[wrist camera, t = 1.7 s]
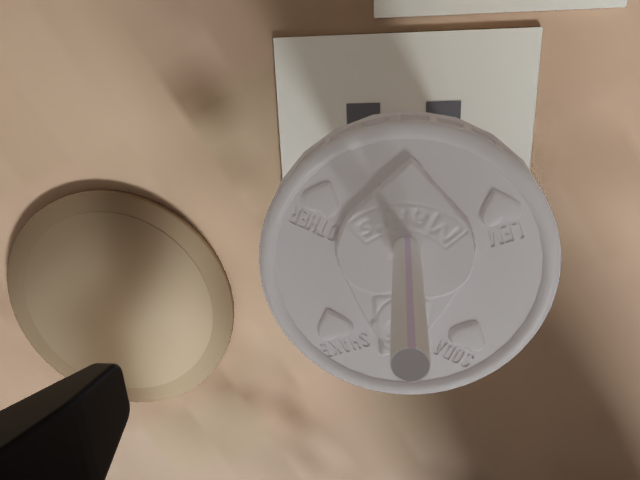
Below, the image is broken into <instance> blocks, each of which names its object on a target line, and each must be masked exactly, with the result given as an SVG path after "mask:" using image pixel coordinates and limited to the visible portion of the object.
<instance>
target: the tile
mask: <svg viewBox="0 0 640 480" xmlns="http://www.w3.org/2000/svg"><path fill="white" fill-rule="evenodd" d="M626 5H627V0H374V18H388V17H411V16H434V15H456V14H479V13H502V12H525V11H547V10H570V9H593V8H615V7H626Z"/></svg>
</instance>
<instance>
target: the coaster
mask: <svg viewBox="0 0 640 480" xmlns="http://www.w3.org/2000/svg"><path fill="white" fill-rule="evenodd" d="M7 283H8V292H9V297H10V302H11V305H12V308H13V312H14V315H15V317H16V319H17V321H18V323H19V326H20V328H21V329H22V331H23V333H24V334H25V336H26V338H27V339H28V341H29V342H30V343H31V345H32V346H33V347H34V349H35V350H36V351H37V352H38V354H39V355H40V356H41V357H42V358H43V359H44V360H45V361H46V362H47V363H48V364H49V365H50V366H52V367H53V368H54V369H55V370H56V371H57V372H59V373H60V374H61V375H63V376H64V377H68V376H70V375H72V374H74V373H76V372H78V371H80V370H82V369H84V368H86V367H88V366H89V365H91V364H94V363H115V364H118V365H119V366H120V367H121V369H122V372H123V376H124V380H125V385H126V389H127V394H128V399H129V401H131V402H153V401H160V400H165V399H169V398H173V397H176V396H178V395H181V394H183V393H186V392H188V391H189V390H191V389H193V388H194V387H196V386H198V385H199V384H200V383H201V382H202V381H204V380H205V379H206V378H207V377H208V376H209V375H210V374H211V373H212V372H213V371H214V369H215V368H216V367H217V365H218V363H219V362H220V360H221V359H222V357H223V355H224V353H225V351H226V349H227V346H228V344H229V342H230V338H231V334H232V330H233V322H234V302H233V297H232V291H231V287H230V284H229V281H228V278H227V275H226V273H225V270H224V268H223V266H222V264H221V262H220V260H219V259H218V257H217V255H216V254H215V252H214V251H213V249H212V248H211V246H210V245H209V244H208V243H207V241H206V240H205V239H204V238H203V236H202V235H201V234H200V233H199V232H198V231H197V230H196V229H195V228H194V227H193V226H192V225H191V224H189V223H188V222H187V221H185V220H184V219H183V218H182V217H180V216H179V215H178V214H176V213H175V212H173V211H171V210H170V209H168V208H166V207H165V206H163V205H161V204H159V203H157V202H155V201H152V200H150V199H148V198H145V197H142V196H139V195H136V194H132V193H127V192H122V191H117V190H89V191H83V192H78V193H73V194H70V195H68V196H65V197H63V198H60V199H58V200H56V201H54V202H52V203H51V204H49V205H47V206H45V207H44V208H42V209H41V210H39V211H38V212H37V213H36V214H35V215H33V216H32V217H31V218H30V219H29V220H28V222H27V223H26V224H25V225H24V226H23V227H22V229H21V231H20V232H19V234H18V235H17V237H16V239H15V242H14V244H13V246H12V249H11V252H10V257H9V261H8V270H7Z"/></svg>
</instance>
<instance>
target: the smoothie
mask: <svg viewBox="0 0 640 480" xmlns="http://www.w3.org/2000/svg"><path fill="white" fill-rule="evenodd" d="M259 267H260V276H261V281H262V287H263V290H264V293H265V297H266V300H267V302H268V305H269V307H270V310H271V312H272V314H273V316H274V318H275V319H276V321H277V323H278V325H279V326H280V328H281V329H282V331H283V332H284V333H285V335H286V336H287V337H288V339H289V340H290V341H291V342H292V343H293V344H294V346H295V347H296V348H297V349H298V350H299V351H300V352H301V353H302V354H304V355H305V356H306V357H307V358H308V359H309V360H310V361H312V362H313V363H315V364H316V365H317V366H319V367H320V368H322V369H323V370H325V371H326V372H328V373H330V374H331V375H333V376H335V377H337V378H339V379H341V380H343V381H346V382H348V383H351V384H353V385H356V386H359V387H362V388H366V389H369V390H374V391H378V392H384V393H391V394H405V395H415V394H429V393H437V392H442V391H447V390H451V389H455V388H458V387H462V386H464V385H467V384H470V383H472V382H475V381H477V380H479V379H481V378H483V377H485V376H487V375H489V374H491V373H492V372H494V371H496V370H497V369H499V368H500V367H502V366H503V365H505V364H506V363H507V362H509V361H510V360H511V359H512V358H513V357H515V356H516V355H517V354H518V353H519V352H520V351H521V350H522V349H523V348H524V347H525V346H526V345H527V344H528V343H529V342H530V340H531V339H532V338H533V337H534V335H535V334H536V333H537V331H538V330H539V328H540V327H541V325H542V323H543V322H544V320H545V319H546V317H547V314H548V312H549V310H550V308H551V306H552V303H553V300H554V298H555V295H556V291H557V287H558V283H559V278H560V270H561V245H560V237H559V232H558V228H557V223H556V220H555V217H554V214H553V212H552V209H551V207H550V205H549V203H548V201H547V198H546V196H545V194H544V192H543V190H542V189H541V187H540V186H539V184H538V183H537V181H536V179H535V178H534V176H533V175H532V173H531V172H530V170H529V169H528V167H527V165H526V164H525V162H524V161H523V160H522V159H521V158H520V157H519V156H518V155H516V154H515V153H514V152H513V151H512V150H511V149H509V148H508V147H507V146H506V145H505V144H504V143H503V142H501V141H500V140H499V139H498V138H497V137H496V136H494V135H493V134H491V133H489V132H487V131H485V130H483V129H480V128H478V127H476V126H474V125H472V124H470V123H467V122H465V121H463V120H461V119H459V118H457V117H452V116H446V115H440V114H434V113H428V112H422V111H416V110H413V111H403V112H393V113H383V114H373V115H371V116H368V117H365V118H363V119H360V120H358V121H355V122H352V123H350V124H347V125H344V126H342V127H339V128H336V129H335V130H333V131H332V132H331V133H329V134H328V135H326V136H325V137H324V138H322V139H321V140H320V141H318V142H317V143H315V144H314V145H313V146H311V147H310V148H309V149H307V150H306V151H304V153H303V154H302V155H301V156H300V158H299V159H298V160H297V161H296V163H295V164H294V165H293V166H292V168H291V169H290V170H289V172H288V173H287V174H286V175H285V177H284V178H283V179H282V180H281V183H280V185H279V187H278V190H277V192H276V195H275V197H274V199H273V201H272V203H271V205H270V207H269V209H268V212H267V215H266V218H265V221H264V224H263V228H262V233H261V239H260V246H259Z"/></svg>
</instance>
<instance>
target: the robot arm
mask: <svg viewBox="0 0 640 480" xmlns="http://www.w3.org/2000/svg"><path fill="white" fill-rule="evenodd" d="M129 412H130V404H129V399H128V394H127V389H126V385H125V380H124V376H123V372H122V369H121V367H120V366H119V365H118V364H115V363H94V364H91V365H89V366H88V367H86V368H84V369H82V370H80V371H78V372H76V373H74V374H72V375H70V376H68V377H66V378H64V379H62V380H60V381H58V382H56V383H54V384H52V385H50V386H48V387H46V388H44V389H42V390H40V391H38V392H36V393H34V394H33V395H31V396H29V397H27V398H25V399H23V400H21V401H19V402H17V403H15V404H13V405H11V406H9V407H7V408H5V409H3V410H1V411H0V480H105V478H106V476H107V473H108V470H109V468H110V465H111V463H112V460H113V457H114V455H115V452H116V449H117V447H118V444H119V442H120V439H121V436H122V434H123V431H124V428H125V426H126V423H127V420H128V417H129Z"/></svg>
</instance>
